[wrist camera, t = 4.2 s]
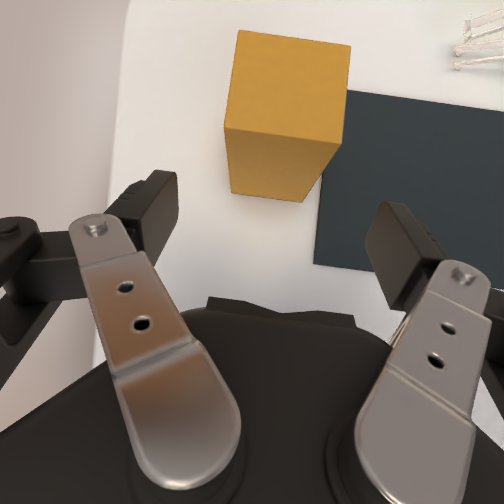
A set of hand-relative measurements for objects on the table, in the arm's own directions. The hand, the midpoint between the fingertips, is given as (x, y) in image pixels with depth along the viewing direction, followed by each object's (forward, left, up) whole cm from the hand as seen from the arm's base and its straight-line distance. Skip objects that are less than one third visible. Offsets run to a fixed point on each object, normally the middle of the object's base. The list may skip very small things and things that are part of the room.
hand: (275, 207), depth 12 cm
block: (0, -6, -10) cm, 12 cm away
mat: (-12, -6, -10) cm, 17 cm away
